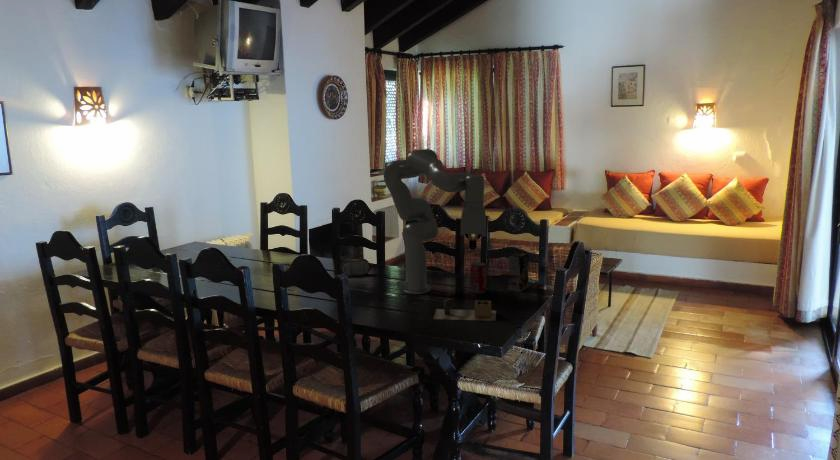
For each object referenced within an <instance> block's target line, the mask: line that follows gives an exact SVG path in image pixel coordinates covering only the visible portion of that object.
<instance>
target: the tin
mask: <svg viewBox="0 0 840 460" xmlns="http://www.w3.org/2000/svg"><path fill="white" fill-rule="evenodd" d="M339 265H340V266H339V270H340V272H341V274H342V275H343V274H347V275H348V276H347V277H356V276H357V277H358V276H365V275H367V274H368V273H370V271H371V264H370V262H369V261H368V260H367V259H366V258H350V259H349V258H347V259H344V260H343V261H342V262H341V263H340V264H339Z"/></svg>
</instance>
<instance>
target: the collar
mask: <svg viewBox="0 0 840 460" xmlns="http://www.w3.org/2000/svg"><path fill="white" fill-rule="evenodd" d="M481 303H485V304H481ZM473 306H474V307H473V308H474V309H473V310H474V318H491V310H492V300H484V299H483V300H481V299H479V300H478V299H477V300H474V305H473Z"/></svg>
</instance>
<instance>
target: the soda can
mask: <svg viewBox="0 0 840 460" xmlns="http://www.w3.org/2000/svg"><path fill="white" fill-rule="evenodd" d="M470 265H471V266H470V267H469V268H470V269H469V271H470V273H469V277H470V279H469V281H470V282H469V283H470V285H469V286H470V287H469V288H470V289H469V290H470V292H471V293H473V294H475V293H476V294H477V295H478V294H479V295H481V294H484V293H486V291H487V267H486V266H487V265H486V263H484V262H481V261H479V262H471V264H470Z"/></svg>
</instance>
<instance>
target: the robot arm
mask: <svg viewBox="0 0 840 460" xmlns="http://www.w3.org/2000/svg"><path fill="white" fill-rule="evenodd" d="M443 169H444V164H443V161H442V160H440V159H438V154H437V152H435V151H434V150H432V149H431V148H425V149H414V150H412V151H410V152H409V153H408V154H407V156H406V159H398V160H392V161H390V162H389V163H387V164H386V165H385V166H384V169H383V179H384V184H385V186H386V187H387V190H388V192H389V193H390V196H391V198H392V201H393V203H394V206H395V209H396V212H397V214H398V216H399V218H400V219H401V220H402V221H404V222H406V221H407V222H408V221H409V222H410V221H411V222H410V223H406V225H405V226H404V227H403V228H402V232H401V233H402V238H403V244H404V245H403V246H404V255H405V256H404V257H405V259H404V261H405V263H404V264H405V280H402V281H401V280H399V281H397V280H396V286H398V287H402V291H403V293H405V294H410V295H422V294H423V295H424V294H428V293H429V292H430V291H431V286H429V285H427V284H428V281H427V280H428V277H427V276H428V275H427V273H428V272H427V271H428V270H427V267H428V266H427V250H426V247H425V246H424V242H428V241H432V240H434V239H436V238H437V236H438V234H439V227H438V224H437V221H436V218H435V215H434V212H433V210H432V207H431V205H430V203H429V202H428V200H426V199H425V198H423V197H416V198H415V197H413V196H412V193H411V190H410V188H409V186H407V184H406V183H405V182H404V181H403V180H404V179H412V178H417V177H419V176H421V175H424V176H425V177H427V178H429V181H430V182H431V183H432V184H433V185H434V187H436V188H438V189H440V190H442V191H444V192H446V193H457V192H463V191H464V201H462V202H461V203H460V206H462V207H463V208H462V210H461V216H460V218H461V219H460V232H459V235H460V236H463V237H466V239H468V241H469V242H468V244H469V245H468V248H469V249H470V251H475V250H476V249H477V243H478V240H479V239H480V238H481V237H486V236H487V213H486V209H485V208H484V202H485V201H484V200H485V199H484V198H485V177H484V176H483V175H482V174H473V173H470V172H467V171H464V172H463V171H462V172H453V173H448V172H447V171H444V170H443ZM415 220H417V221H415ZM412 221H413V222H412ZM472 235H474V238H473V237H472Z"/></svg>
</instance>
